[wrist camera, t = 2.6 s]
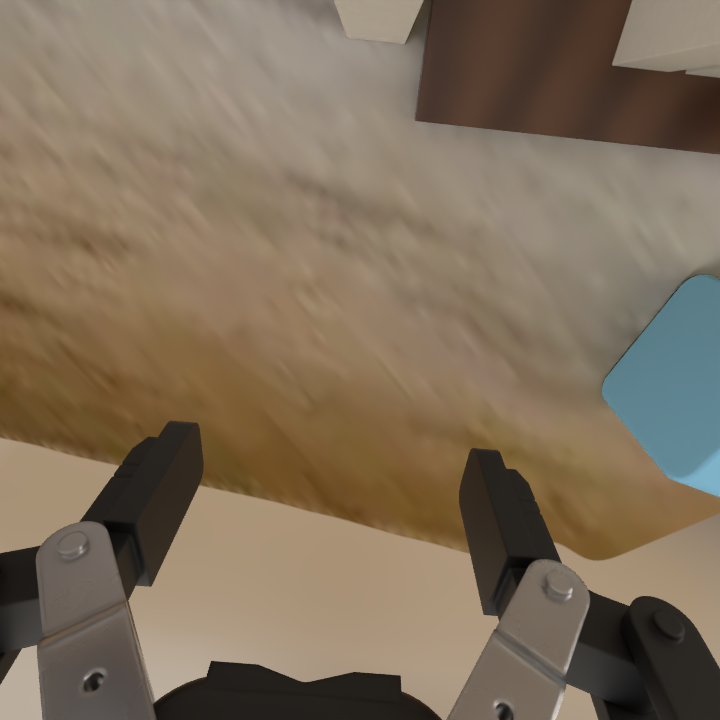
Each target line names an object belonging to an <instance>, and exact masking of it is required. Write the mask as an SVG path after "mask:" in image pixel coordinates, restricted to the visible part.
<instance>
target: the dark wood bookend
mask: <svg viewBox="0 0 720 720" xmlns="http://www.w3.org/2000/svg"><path fill="white" fill-rule="evenodd" d="M631 3H632V0H431V4H430V11H429V18H428V25H427V33H426V40H425V47H424V54H423V62H422V69H421V76H420V83H419V90H418V98H417V105H416V112H415V121H422V122H431V123H440V124H449V125H458V126H467V127H476V128H485V129H495V130H504V131H513V132H522V133H531V134H540V135H549V136H558V137H567V138H576V139H585V140H594V141H603V142H612V143H621V144H630V145H639V146H648V147H658V148H667V149H676V150H685V151H694V152H703V153H712V154H720V78H717V77H708V76H700V75H691V74H686V73H685V72H686V70H680V71H673V72H665V71H656V70H647V69H639V68H630V67H621V66H613V65H612V63H613V60H614V56H615V53H616V50H617V47H618V44H619V41H620V38H621V34H622V31H623V28H624V25H625V22H626V19H627V16H628V12H629V9H630V6H631Z"/></svg>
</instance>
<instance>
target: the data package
mask: <svg viewBox="0 0 720 720" xmlns="http://www.w3.org/2000/svg"><path fill="white" fill-rule="evenodd" d="M602 395H603V398H604V400H605V401H606V402H607V404H608V405H609V406H610V407H611V408H612V410H613V411H614V412H615V413H616V415H617V416H618V417H619V418H620V420H621V421H622V422H623V423H624V425H625V426H626V427H627V428H628V430H629V431H630V432H631V433H632V435H633V436H634V437H635V438H636V440H637V441H638V442H639V443H640V444H641V446H642V447H643V448H644V449H645V451H646V452H647V453H648V454H649V456H650V457H651V458H652V459H653V461H654V462H655V463H656V464H657V466H658V467H659V468H660V469H661V471H662V472H663V473H664V474H665V475H666V476H667V477H668V478H670V479H672V480H674V481H677V482H679V483H682V484H685V485H688V486H690V487H693V488H696V489H699V490H701V491H704V492H707V493H710V494H712V495H715V496H718V497H720V279H717V278H715V277H713V276H711V275H707V274H702V275H697V276H694V277H692V278H690V279H688V280H687V281H686V282H684V283H683V284H682V285H681V286H680V287H679V289H678V290H677V291H676V292H675V293H674V295H673V296H672V297H671V298H670V300H669V301H668V302H667V303H666V304H665V306H664V307H663V308H662V309H661V311H660V312H659V313H658V314H657V315H656V317H655V318H654V319H653V320H652V322H651V323H650V324H649V325H648V326H647V328H646V329H645V330H644V331H643V333H642V334H641V335H640V336H639V337H638V339H637V340H636V341H635V342H634V344H633V345H632V346H631V347H630V348H629V350H628V351H627V352H626V353H625V355H624V356H623V357H622V358H621V359H620V361H619V362H618V363H617V364H616V366H615V367H614V368H613V369H612V371H611V372H610V373H609V374H608V375H607V377H606V378H605V380H604V383H603V386H602Z"/></svg>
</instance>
